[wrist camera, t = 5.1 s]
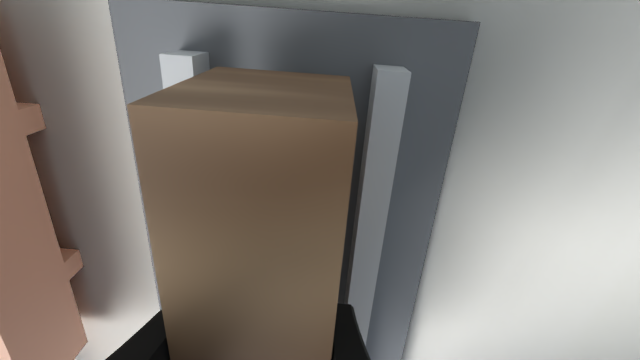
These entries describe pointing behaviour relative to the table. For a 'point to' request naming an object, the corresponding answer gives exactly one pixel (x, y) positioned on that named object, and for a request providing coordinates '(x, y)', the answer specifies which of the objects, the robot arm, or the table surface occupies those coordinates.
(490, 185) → the table surface
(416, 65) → the jig
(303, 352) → the tan cardboard box
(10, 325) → the block
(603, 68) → the table surface
